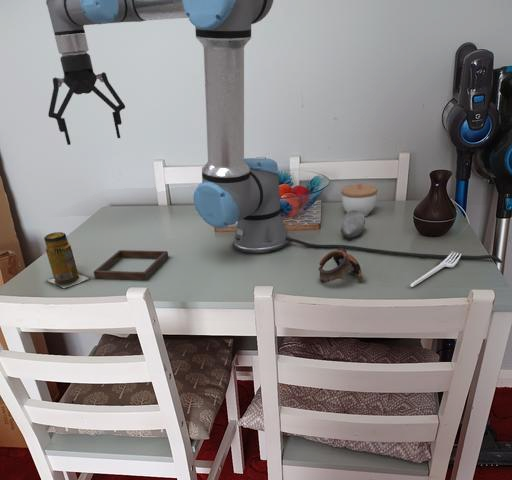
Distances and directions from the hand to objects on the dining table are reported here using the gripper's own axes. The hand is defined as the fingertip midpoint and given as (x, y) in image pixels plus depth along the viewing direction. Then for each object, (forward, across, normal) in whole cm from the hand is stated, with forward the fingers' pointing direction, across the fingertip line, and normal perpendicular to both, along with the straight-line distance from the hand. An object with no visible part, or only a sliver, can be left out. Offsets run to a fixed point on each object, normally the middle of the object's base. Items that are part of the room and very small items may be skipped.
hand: (94, 140), depth 146 cm
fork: (+29, -70, +62) cm, 98 cm away
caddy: (+29, -3, +26) cm, 39 cm away
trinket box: (+29, -74, +15) cm, 81 cm away
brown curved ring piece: (+29, -50, +56) cm, 80 cm away
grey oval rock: (+29, -64, +31) cm, 77 cm away
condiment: (+29, +14, +26) cm, 41 cm away
